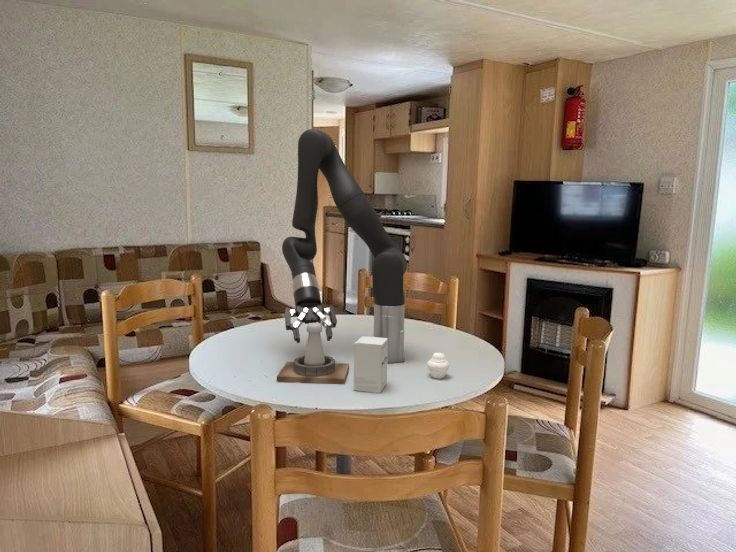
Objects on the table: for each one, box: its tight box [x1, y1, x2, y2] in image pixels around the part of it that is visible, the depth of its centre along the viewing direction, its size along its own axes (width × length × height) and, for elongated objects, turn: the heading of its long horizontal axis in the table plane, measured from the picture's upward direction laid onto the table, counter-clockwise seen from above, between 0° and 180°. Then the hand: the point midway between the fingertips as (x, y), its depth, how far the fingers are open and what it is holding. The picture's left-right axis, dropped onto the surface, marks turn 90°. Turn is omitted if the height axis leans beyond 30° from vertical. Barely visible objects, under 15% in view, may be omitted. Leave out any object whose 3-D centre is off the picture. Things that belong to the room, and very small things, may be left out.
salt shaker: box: [304, 322, 325, 366], centre depth 146 cm, size 6×6×13 cm
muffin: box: [426, 352, 450, 379], centre depth 147 cm, size 6×6×7 cm
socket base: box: [276, 355, 350, 385], centre depth 147 cm, size 18×13×4 cm
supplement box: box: [353, 335, 388, 394], centre depth 137 cm, size 7×7×13 cm
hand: (314, 340), depth 146 cm, fingers open, 8 cm apart
